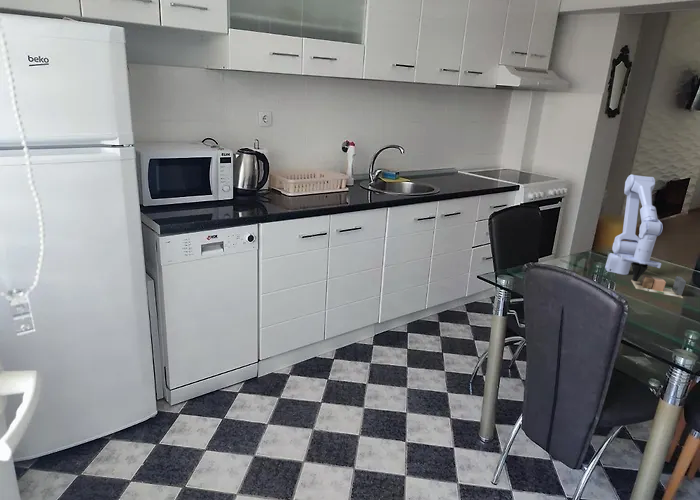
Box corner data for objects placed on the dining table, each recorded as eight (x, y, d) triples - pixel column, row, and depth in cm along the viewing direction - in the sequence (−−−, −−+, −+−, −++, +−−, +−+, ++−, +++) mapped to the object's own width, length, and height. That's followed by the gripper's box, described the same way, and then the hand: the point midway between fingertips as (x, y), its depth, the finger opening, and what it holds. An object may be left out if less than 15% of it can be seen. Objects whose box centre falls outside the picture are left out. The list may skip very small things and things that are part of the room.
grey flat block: (675, 296, 197) (680, 280, 195) (671, 291, 203) (676, 276, 201) (680, 297, 197) (686, 281, 195) (676, 292, 202) (681, 277, 200)
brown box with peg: (643, 288, 200) (646, 279, 198) (640, 283, 205) (643, 274, 204) (651, 289, 199) (654, 280, 198) (648, 284, 204) (651, 275, 203)
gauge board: (635, 290, 199) (636, 288, 199) (630, 282, 209) (631, 279, 209) (682, 300, 194) (683, 297, 194) (674, 290, 204) (675, 288, 204)
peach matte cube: (651, 289, 200) (654, 280, 199) (649, 285, 204) (652, 277, 203) (662, 291, 199) (665, 282, 198) (660, 288, 203) (663, 279, 202)
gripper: (626, 248, 197) (617, 279, 202) (666, 255, 193) (656, 287, 198) (623, 244, 204) (614, 274, 208) (662, 251, 200) (652, 281, 204)
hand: (634, 280), depth 203 cm, fingers closed
